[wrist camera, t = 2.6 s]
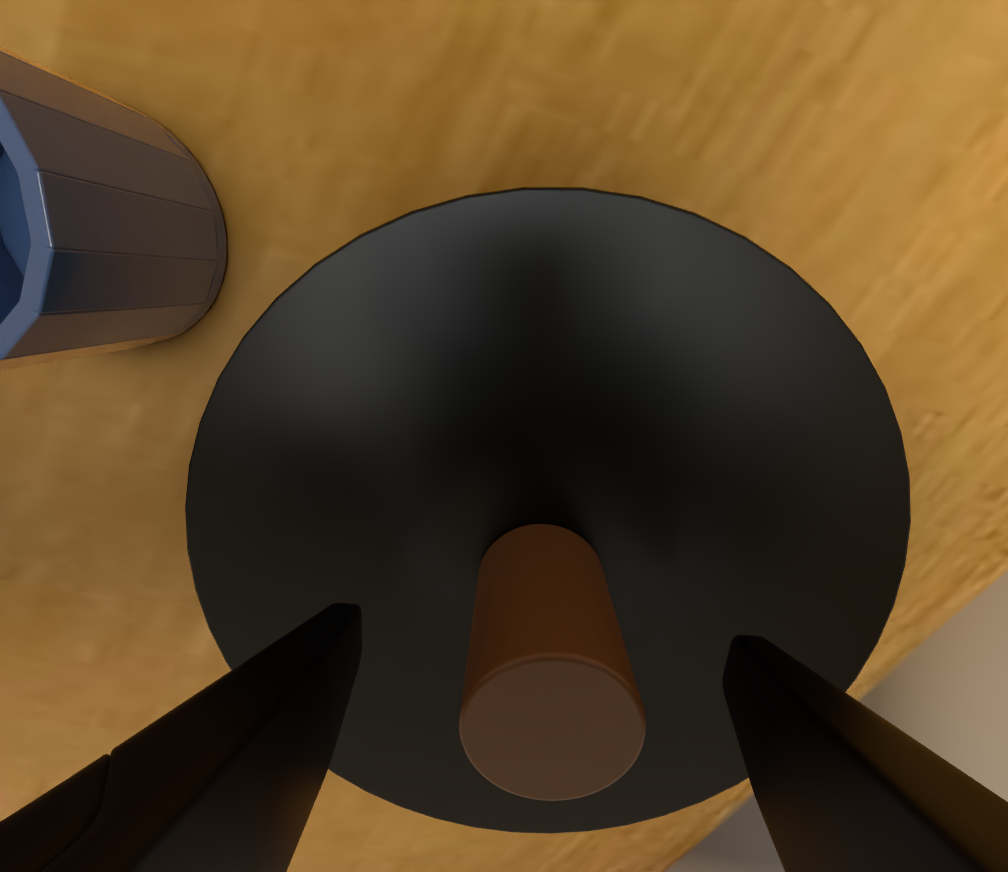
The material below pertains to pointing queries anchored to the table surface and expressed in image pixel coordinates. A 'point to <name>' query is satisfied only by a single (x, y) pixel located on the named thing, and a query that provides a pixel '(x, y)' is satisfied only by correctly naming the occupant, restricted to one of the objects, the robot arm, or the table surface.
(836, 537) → the lid
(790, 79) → the table surface
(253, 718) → the robot arm
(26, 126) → the cup
